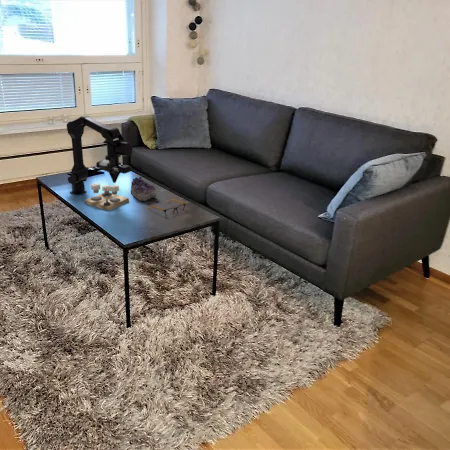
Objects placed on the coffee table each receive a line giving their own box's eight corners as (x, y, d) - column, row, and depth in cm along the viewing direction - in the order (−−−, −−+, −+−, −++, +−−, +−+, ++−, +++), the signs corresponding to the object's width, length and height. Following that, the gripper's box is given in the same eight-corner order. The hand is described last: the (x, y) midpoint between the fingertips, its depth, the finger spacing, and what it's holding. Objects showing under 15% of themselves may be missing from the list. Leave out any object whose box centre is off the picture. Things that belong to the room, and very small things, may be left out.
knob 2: (100, 193, 246) (100, 186, 244) (106, 191, 249) (106, 184, 248) (107, 195, 244) (106, 188, 242) (113, 193, 247) (112, 186, 246)
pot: (103, 204, 233) (103, 197, 232) (106, 203, 235) (106, 195, 233) (107, 205, 232) (106, 198, 231) (110, 204, 234) (110, 196, 232)
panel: (84, 203, 239) (84, 199, 238) (106, 195, 252) (105, 191, 251) (108, 210, 232) (108, 206, 231) (128, 201, 245) (128, 197, 244)
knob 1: (89, 192, 238) (89, 185, 236) (95, 190, 242) (95, 182, 240) (96, 194, 236) (95, 186, 234) (102, 191, 240) (102, 184, 238)
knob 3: (108, 194, 237) (107, 186, 236) (114, 191, 241) (113, 184, 239) (115, 195, 235) (114, 188, 234) (120, 193, 239) (120, 186, 238)
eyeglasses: (165, 217, 229) (165, 210, 227) (147, 209, 238) (147, 202, 236) (186, 210, 239) (186, 203, 237) (168, 202, 248) (168, 195, 246)
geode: (123, 192, 258) (124, 174, 255) (141, 191, 265) (143, 174, 262) (139, 202, 243) (140, 184, 240) (158, 201, 250) (160, 183, 247)
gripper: (87, 153, 227) (89, 183, 234) (116, 159, 220) (118, 190, 226) (102, 149, 236) (104, 177, 243) (131, 155, 229) (132, 184, 235)
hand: (114, 182), depth 236 cm, fingers closed
